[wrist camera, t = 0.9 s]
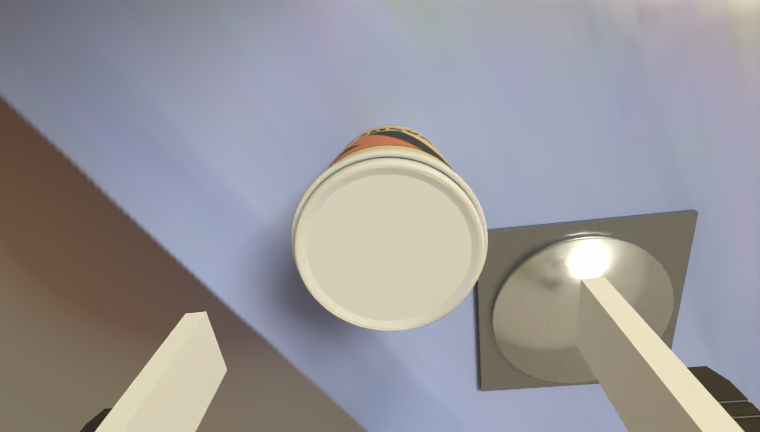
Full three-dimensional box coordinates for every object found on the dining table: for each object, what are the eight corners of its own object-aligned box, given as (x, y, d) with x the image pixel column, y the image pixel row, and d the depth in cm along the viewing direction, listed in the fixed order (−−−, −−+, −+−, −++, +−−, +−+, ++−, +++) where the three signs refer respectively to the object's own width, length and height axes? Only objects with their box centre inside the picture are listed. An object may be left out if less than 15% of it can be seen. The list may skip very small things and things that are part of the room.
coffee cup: (450, 104, 27) (489, 142, 16) (457, 228, 31) (493, 329, 20) (316, 121, 28) (265, 168, 17) (338, 240, 31) (308, 344, 20)
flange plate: (475, 230, 31) (478, 237, 30) (693, 209, 30) (705, 216, 28) (480, 386, 37) (483, 397, 36) (661, 374, 36) (670, 385, 34)
